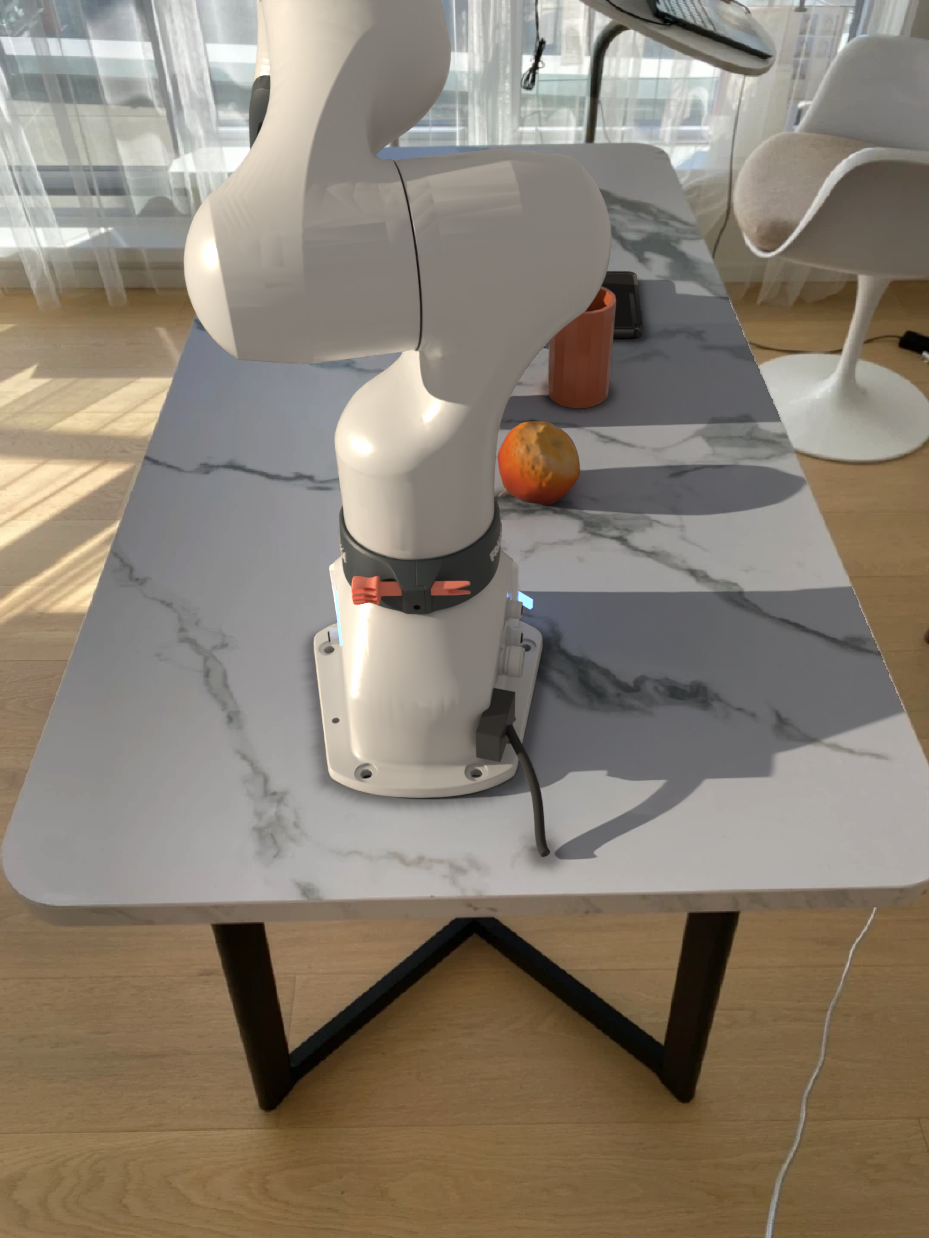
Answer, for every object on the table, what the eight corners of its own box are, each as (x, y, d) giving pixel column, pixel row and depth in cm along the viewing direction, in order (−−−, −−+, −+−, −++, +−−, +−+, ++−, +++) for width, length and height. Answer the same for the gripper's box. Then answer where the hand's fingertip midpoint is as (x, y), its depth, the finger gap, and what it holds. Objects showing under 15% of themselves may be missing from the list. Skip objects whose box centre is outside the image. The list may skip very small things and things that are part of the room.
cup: (610, 408, 112) (618, 313, 104) (548, 409, 112) (552, 314, 105) (605, 375, 117) (612, 282, 109) (545, 376, 117) (549, 283, 109)
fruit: (493, 446, 105) (535, 393, 99) (557, 491, 106) (602, 442, 100) (467, 492, 99) (509, 439, 94) (534, 540, 100) (580, 490, 95)
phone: (576, 329, 122) (574, 270, 133) (575, 337, 123) (574, 279, 134) (644, 329, 122) (637, 271, 132) (643, 338, 122) (636, 279, 133)
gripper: (364, 291, 110) (473, 325, 104) (473, 220, 122) (577, 248, 116) (369, 345, 114) (474, 381, 108) (474, 272, 126) (574, 301, 120)
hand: (528, 312), depth 112 cm, fingers open, 8 cm apart
